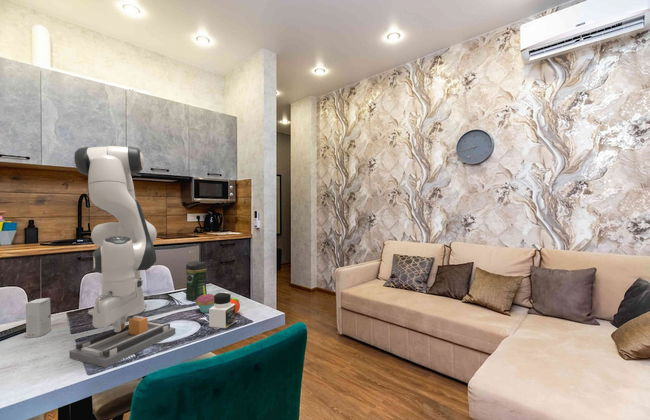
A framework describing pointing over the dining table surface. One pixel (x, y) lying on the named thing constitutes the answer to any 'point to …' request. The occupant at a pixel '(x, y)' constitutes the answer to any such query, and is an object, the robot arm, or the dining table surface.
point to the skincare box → (38, 317)
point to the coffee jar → (195, 279)
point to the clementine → (236, 304)
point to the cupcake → (205, 301)
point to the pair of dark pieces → (125, 344)
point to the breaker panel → (95, 351)
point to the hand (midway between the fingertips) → (119, 330)
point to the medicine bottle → (222, 311)
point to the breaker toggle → (138, 325)
